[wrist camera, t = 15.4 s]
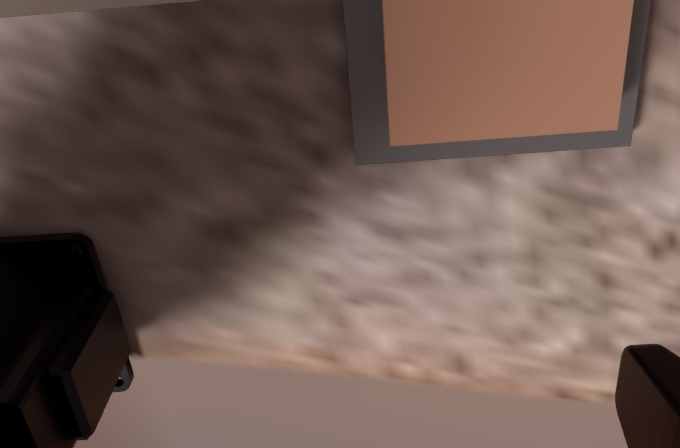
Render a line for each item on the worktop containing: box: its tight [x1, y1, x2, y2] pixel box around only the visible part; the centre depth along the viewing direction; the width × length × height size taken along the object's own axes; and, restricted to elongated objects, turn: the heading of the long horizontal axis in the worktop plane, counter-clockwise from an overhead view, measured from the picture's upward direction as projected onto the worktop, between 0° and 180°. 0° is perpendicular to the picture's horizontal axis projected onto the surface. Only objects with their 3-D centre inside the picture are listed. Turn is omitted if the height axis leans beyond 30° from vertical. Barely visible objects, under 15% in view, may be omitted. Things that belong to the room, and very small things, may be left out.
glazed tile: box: [381, 0, 634, 146], centre depth 17 cm, size 6×1×6 cm
